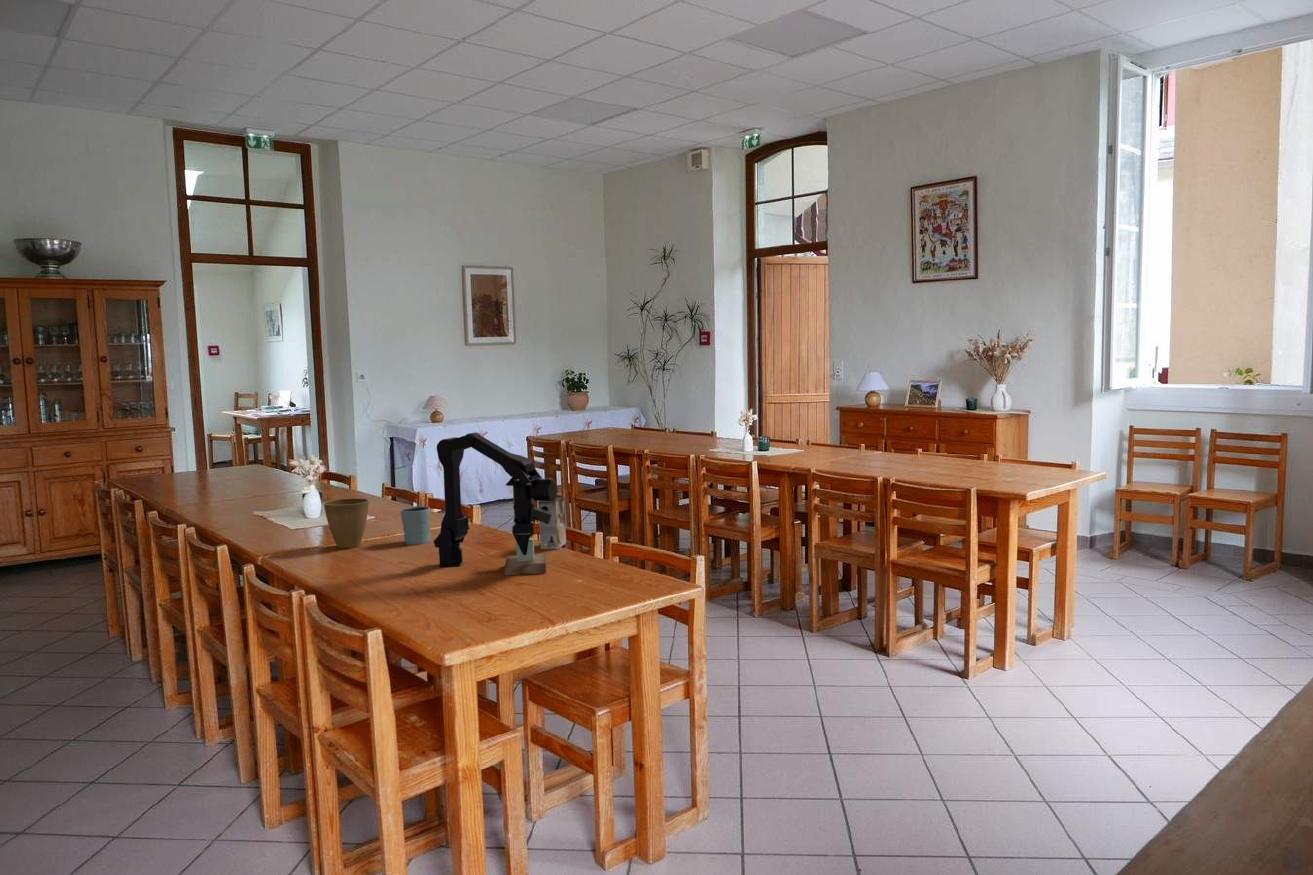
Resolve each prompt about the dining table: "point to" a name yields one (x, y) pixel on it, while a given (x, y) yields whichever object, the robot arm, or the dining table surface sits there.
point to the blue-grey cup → (416, 525)
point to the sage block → (529, 552)
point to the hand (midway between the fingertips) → (525, 551)
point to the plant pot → (347, 520)
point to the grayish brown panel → (525, 565)
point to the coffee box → (553, 525)
